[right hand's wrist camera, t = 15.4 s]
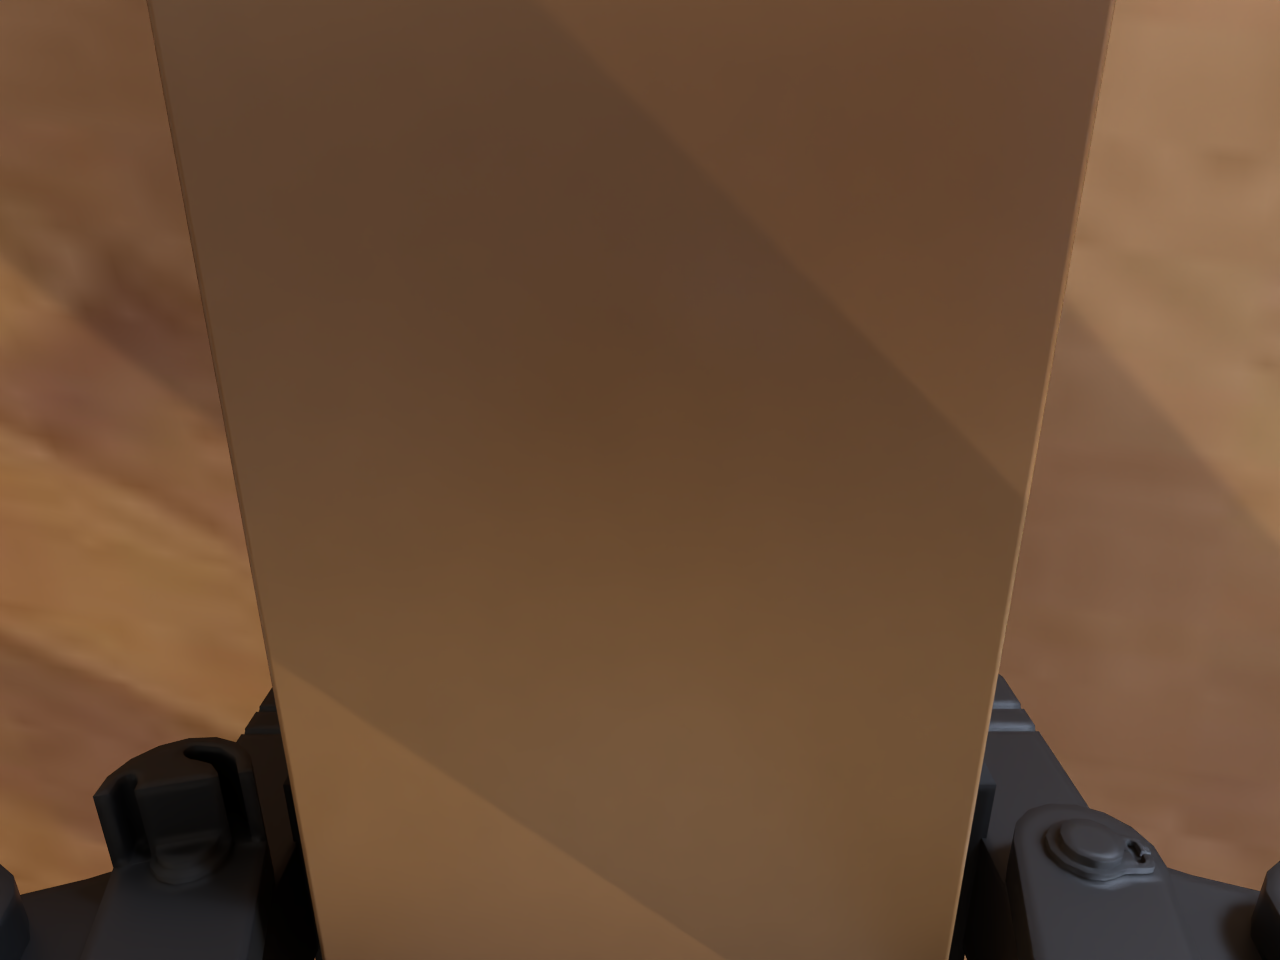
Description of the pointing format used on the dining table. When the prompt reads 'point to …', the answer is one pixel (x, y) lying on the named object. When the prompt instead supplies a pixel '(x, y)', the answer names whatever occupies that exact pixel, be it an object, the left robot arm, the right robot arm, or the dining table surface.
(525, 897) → the post
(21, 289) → the dining table surface
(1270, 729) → the dining table surface
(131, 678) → the dining table surface
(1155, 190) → the dining table surface
